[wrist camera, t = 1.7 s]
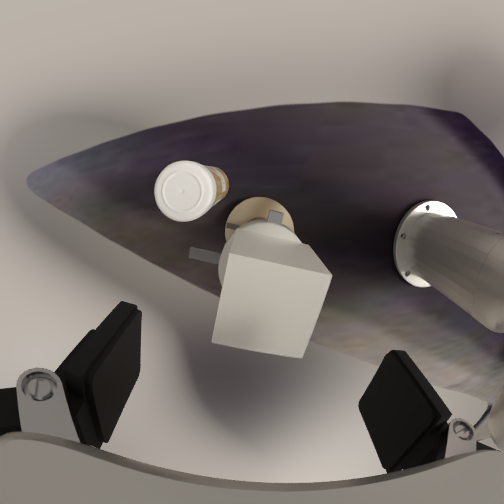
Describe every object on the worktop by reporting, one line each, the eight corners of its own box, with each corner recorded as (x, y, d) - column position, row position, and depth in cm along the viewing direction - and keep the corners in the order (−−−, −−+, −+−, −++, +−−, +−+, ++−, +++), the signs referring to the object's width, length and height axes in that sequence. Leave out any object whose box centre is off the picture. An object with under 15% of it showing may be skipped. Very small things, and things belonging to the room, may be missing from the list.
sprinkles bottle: (233, 170, 32) (220, 167, 19) (223, 208, 33) (205, 229, 20) (195, 162, 31) (159, 155, 18) (187, 199, 32) (147, 215, 20)
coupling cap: (316, 220, 21) (354, 249, 13) (288, 312, 23) (305, 379, 15) (205, 194, 20) (173, 207, 12) (187, 291, 22) (157, 350, 14)
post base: (299, 205, 33) (324, 222, 21) (283, 267, 35) (297, 312, 23) (234, 190, 32) (223, 198, 21) (220, 253, 34) (204, 293, 23)
